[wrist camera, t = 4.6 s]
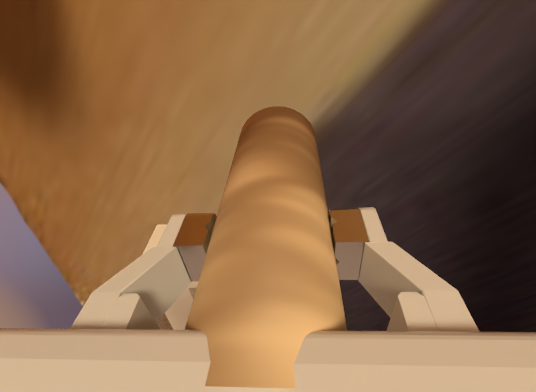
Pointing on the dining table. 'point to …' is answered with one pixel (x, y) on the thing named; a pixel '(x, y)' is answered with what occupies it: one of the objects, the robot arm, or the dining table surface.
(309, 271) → the peg
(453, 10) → the dining table surface
